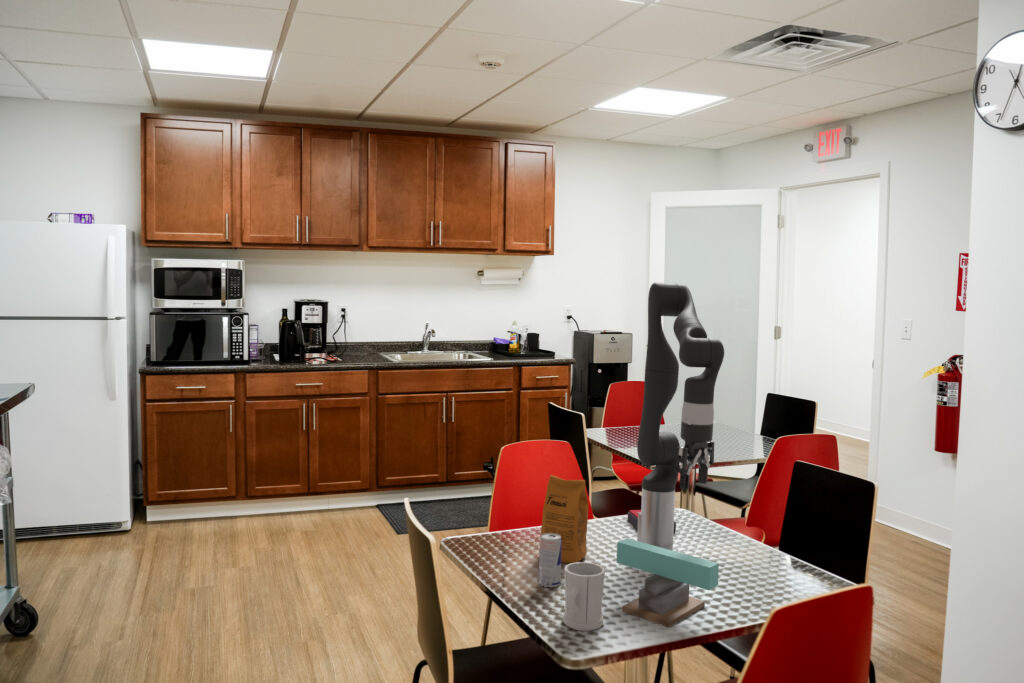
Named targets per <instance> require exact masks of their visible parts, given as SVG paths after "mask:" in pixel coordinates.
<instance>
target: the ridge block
mask: <svg viewBox="0 0 1024 683" xmlns="http://www.w3.org/2000/svg"><path fill="white" fill-rule="evenodd" d="M705 604H706V602H705V601H704V600H701V599H698V598H696V597H692V596H690V585H689V584H686V583H683V582H679V581H676V580H673V579H669V578H666V577H663V576H659V575H656V574H652V575H650V576H648V577H645V579H644V587H642V588H640V589H638V598H636V599H633V600H632V601H630V602H627V603H626V604H624V605H622V606H621V607H622V608H621V609H622V610H621V611H622V612H623V613H626V614H629V615H632V616H634V617H638V618H641V619H643V620H646V621H648V622H649V621H650V622H653V623H654V624H655V623H656V624H658V625H660V626H664V627H667V628H670V627H672V626H673V625H675V624H677V623H678V622H681V621H682V620H684V619H686V618H687V617H689V616H691V615H693V614H695V613H696V612H698V611H699V610H701V609H703V608H704V607H705ZM692 613H693V614H692ZM690 614H691V615H690ZM680 620H681V621H680Z"/></svg>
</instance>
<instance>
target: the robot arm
mask: <svg viewBox="0 0 1024 683" xmlns="http://www.w3.org/2000/svg"><path fill="white" fill-rule="evenodd" d="M662 317H673V318H675V320H674V323H673V327H672V328H673V332H674V336H675V338H676V339H677V341H678V344H679V350H678V358H679V361H680V363H681V364H682V365H684V366H685V367H687V368H705V369H704V370H703V372H702V373H701V374H698V375H695V376H690V377H687V378H686V379H685V380H684V390H683V404H682V409H681V420H680V422H681V423H680V438H681V440H683V441H684V446H683V447H681V444H680V442H679V438H678V437H677V435H676V434H675V433H673V432H672V431H660V429H661V422H662V418H663V416H664V413H665V412H666V409H667V408H668V406H669V405H670V403H671V402H672V400H673V398H674V396H675V394H676V392H677V390H678V385H679V374H680V373H679V371H680V364H679V361H678V358H677V356H676V354H675V352H674V350H673V349H672V347H671V345H670V343H669V341H668V340H667V338H666V336H665V333H664V329H663V324H662ZM724 358H725V347H724V345H723V343H722V341H720V339H718V338H708V334H707V332H706V330H705V328H704V326H703V325H702V323H701V322H700V319H699V318H698V314H697V310H696V307H695V303H694V299H693V296H692V293H691V290H690V288H689V287H688V286H687V285H686V284H683V283H678V282H677V283H675V282H652V283H651V285H650V288H649V290H648V298H647V347H646V356H645V364H644V365H645V367H644V379H643V380H644V381H643V382H644V383H643V384H644V386H643V387H644V388H643V389H644V390H643V400H642V401H643V402H642V409H641V410H642V411H641V419H640V424H639V430H638V436H637V442H636V443H637V449H636V450H637V451H636V452H637V457H638V459H639V460H638V461H639V462H640V463H641V465H644V466H647V467H654V466H655V467H654V469H653V470H652V471H650V472H649V473H648V474H646V475H644V477H643V478H642V480H641V508H640V510H641V513H639V514H638V530H636V531H637V536H636V537H637V538H636V541H639V542H642V543H646V544H650V545H653V546H657V547H661V548H664V549H668V550H672V551H674V548H673V547H674V534H675V533H674V521H675V506H676V505H675V502H676V501H675V499H676V497H675V496H676V484H677V483H678V479H679V489H680V490H683V491H689V490H690V480H691V475H690V473H691V471H692V470H693V469H692V468H695V466H696V464H698V472H697V473H698V475H697V482H698V483H700V484H704V485H705V484H707V483H708V479H709V478H708V475H709V469H710V467H711V466H713V465H714V463H715V441H713V432H714V420H715V419H714V416H715V414H714V413H715V411H714V410H715V409H714V397H715V387H716V383H717V379H718V375H719V372H720V370H721V367H722V364H723V362H724ZM679 475H680V476H679Z"/></svg>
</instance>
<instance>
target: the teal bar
mask: <svg viewBox="0 0 1024 683" xmlns="http://www.w3.org/2000/svg"><path fill="white" fill-rule="evenodd" d="M616 544H617V545H616V563H617V564H620V565H623V566H627V567H629V568H634V569H637V570H639V571H644V572H646V573H649V574H652V575H654V574H656V575H659V576H663V577H666V578H669V579H673V580H676V581H679V582H683V583H686V584H689V586H692V587H693V586H694V587H696V588H701V589H703V590H706V591H711V590H712V589H715V588H716V587H718V586H719V570H720V569H719V567H720V566H719V562H715V561H713V560H710V559H705V558H702V557H701V558H700V557H697V556H694V555H690V554H687V553H683V552H680V551H675V550H668V549H664V548H661V547H657V546H653V545H650V544H646V543H642V542H639V541H637V540H635V539H631V538H624V539H621V540H619V541H617V542H616Z"/></svg>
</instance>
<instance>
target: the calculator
mask: <svg viewBox="0 0 1024 683" xmlns="http://www.w3.org/2000/svg"><path fill="white" fill-rule="evenodd" d="M639 513H641V509H630V510H629V511H628V512H627V521H628V522H629V523H630V524H631V525H632V526H633V527H634V528H636V531H638V514H639ZM676 529H677V522H676V521H675V520H674V533H673V534H676V533H675V532H676V531H677V530H676Z"/></svg>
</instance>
